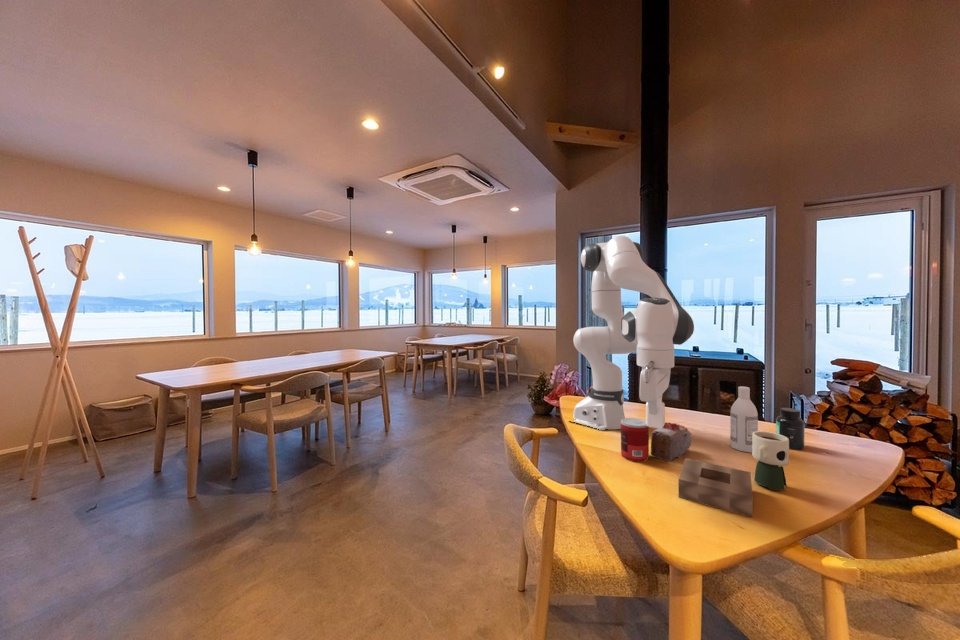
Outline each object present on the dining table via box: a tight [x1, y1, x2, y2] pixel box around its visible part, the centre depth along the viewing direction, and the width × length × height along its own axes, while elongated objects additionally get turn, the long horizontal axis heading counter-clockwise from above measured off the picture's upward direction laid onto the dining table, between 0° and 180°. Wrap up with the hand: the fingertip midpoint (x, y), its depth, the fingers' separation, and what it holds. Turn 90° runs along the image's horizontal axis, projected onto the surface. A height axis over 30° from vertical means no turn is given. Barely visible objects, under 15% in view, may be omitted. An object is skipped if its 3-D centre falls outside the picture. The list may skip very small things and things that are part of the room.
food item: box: [650, 421, 692, 462], centre depth 106 cm, size 14×8×10 cm, turn 129°
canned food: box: [620, 417, 650, 463], centre depth 105 cm, size 8×8×11 cm
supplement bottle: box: [775, 407, 805, 451], centre depth 110 cm, size 7×7×12 cm
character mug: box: [751, 430, 790, 491], centre depth 86 cm, size 11×7×13 cm, turn 119°
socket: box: [678, 457, 754, 519], centre depth 83 cm, size 14×14×4 cm
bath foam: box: [729, 385, 759, 454], centre depth 109 cm, size 7×7×20 cm
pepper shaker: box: [645, 394, 666, 429], centre depth 89 cm, size 4×4×10 cm
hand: (655, 411), depth 89 cm, fingers closed on pepper shaker, 4 cm apart
